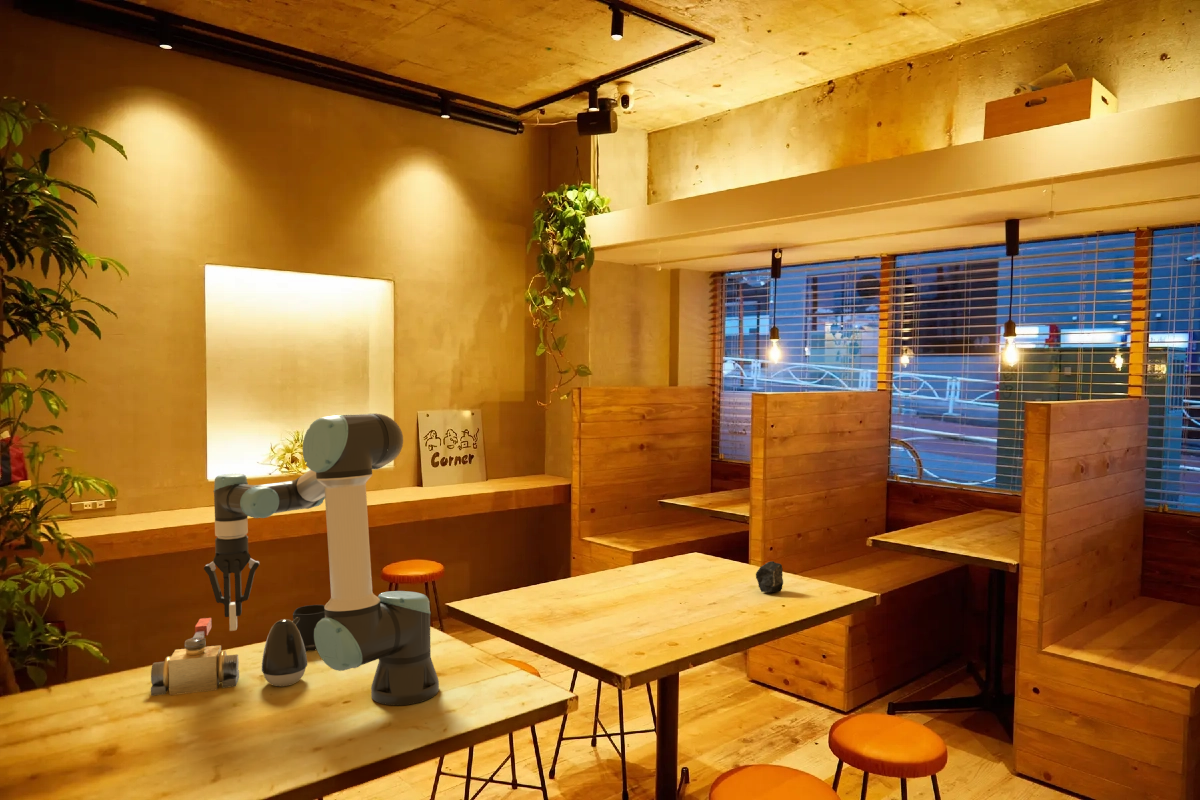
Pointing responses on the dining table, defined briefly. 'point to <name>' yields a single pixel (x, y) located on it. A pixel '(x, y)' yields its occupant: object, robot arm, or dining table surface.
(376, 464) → the robot arm
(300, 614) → the pen holder
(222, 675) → the valve
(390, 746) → the dining table surface
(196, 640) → the lever
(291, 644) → the black egg-shaped shaker
